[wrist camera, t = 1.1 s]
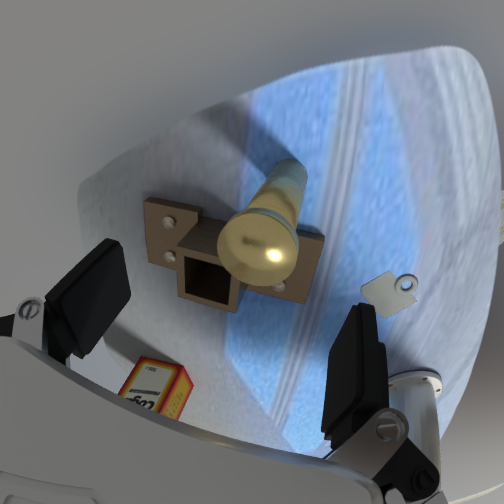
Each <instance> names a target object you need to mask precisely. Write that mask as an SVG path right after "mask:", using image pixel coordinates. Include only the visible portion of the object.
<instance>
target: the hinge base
mask: <svg viewBox="0 0 504 504" xmlns="http://www.w3.org/2000/svg"><path fill="white" fill-rule="evenodd" d="M202 210H203V208H201V207H197V206H192V205H187V204H182V203H177V202H172V201H167V200H162V199H157V198H152V197H149V198H147V199H146V200H145V201H144V217H145V231H146V242H147V253H148V262H150V263H153V264H157V265H160V266H163V267H167V268H170V269H174V270H177V287H178V297H181V298H184V299H188V300H191V301H194V302H197V303H201V304H204V305H207V306H211V307H214V308H218V309H221V310H225V311H228V312H232V313H235V314H236V312H237V309H238V307H239V305H240V302H241V300H242V297H243V295H244V293H245V290H246V288H247V286H248V290H249V291H253V292H257V293H261V294H265V295H269V296H273V297H277V298H281V299H285V300H289V301H293V302H297V303H301V304H305V301H306V298H307V295H308V292H309V289H310V286H311V283H312V280H313V277H314V274H315V271H316V268H317V264H318V261H319V258H320V255H321V251H322V248H323V245H324V238H325V236H323V235H319V234H315V233H311V232H307V231H303V230H299V229H296V233H297V236H298V239H299V251H298V256H297V261H296V265H295V268H294V270H293V271H292V273H291V274H290V275H289V276H288V277H287V278H286V279H285V280H283V281H282V282H280V283H277V284H275V285H270V286H255V285H250V284H247V283H245V282H242V281H240V280H238V279H237V278H235V277H234V276H233V275H231V274H230V273H229V272H228V271H227V270H226V268H225V267H224V266H223V264H222V263H221V261H220V258H219V255H218V251H217V242H218V238H219V235H220V233H221V231H222V230H223V228H224V227H225V225H226V224H227V223H228V222H225V221H220V220H216V219H211V218H207V217H202Z"/></svg>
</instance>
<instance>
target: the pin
mask: <svg viewBox="0 0 504 504" xmlns="http://www.w3.org/2000/svg"><path fill="white" fill-rule="evenodd" d="M307 179H308V175H307V171H306V169H305V167H304V166H303V165H302V164H301V163H300V162H298V161H296V160H292V159H285V160H282V161H280V162H278V163H277V164H276V165H275V167H274V168H273V169H272V171H271V172H270V174H269V175H268V177H267V178H266V180H265V181H264V183H263V184H262V186H261V187H260V189H259V190H258V192H257V193H256V195H255V196H254V198H253V199H252V201H251V202H250V204H249V205H248V207H247V208H246V209H245V210H242V211H240V212H238V213H236V214H235V215H234V216H233V217H232V218H231V219H230V220H229V221H228V223H227V224H226V225H225V227H224V228H223V230H222V231H221V233H220V235H219V238H218V242H217V251H218V255H219V258H220V261H221V263H222V264H223V266H224V267H225V268H226V270H227V271H228V272H229V273H230V274H231V275H233V276H234V277H235V278H237V279H238V280H240V281H242V282H245V283H247V284H250V285H255V286H270V285H275V284H277V283H280V282H282V281H283V280H285V279H286V278H287V277H288V276H289V275H290V274H291V273H292V271H293V270H294V268H295V265H296V261H297V256H298V251H299V239H298V236H297V233H296V227H297V223H298V219H299V214H300V210H301V206H302V201H303V197H304V193H305V188H306V184H307Z"/></svg>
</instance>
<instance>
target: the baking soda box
mask: <svg viewBox="0 0 504 504" xmlns="http://www.w3.org/2000/svg"><path fill="white" fill-rule="evenodd" d="M193 386H194V385H193V383H192V381H191V379H190V377H189V375H188V374H187V372H186V370H185V368H184V366H182V365H177V364H172V363H168V362H163V361H159V360H155V359H151V358H147V357H143V356H141V357H140V359H139V360H138V362H137V363H136V365H135V367H134V368H133V370H132V371H131V373H130V375H129V376H128V378H127V380H126V381H125V383H124V384H123V386H122V388H121V389H120V391H119V393H118V394H117V395H119V396H121V397H123V398H126V399H128V400H130V401H132V402H134V403H136V404H139V405H141V406H143V407H145V408H148V409H150V410H152V411H155V412H157V413H160V414H162V415H165V416H167V417H170V418H172V419H175V420H178V419H179V417H180V415H181V413H182V411H183V408H184V406H185V404H186V402H187V400H188V397H189V395H190V393H191V391H192V389H193Z"/></svg>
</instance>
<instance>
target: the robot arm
mask: <svg viewBox="0 0 504 504" xmlns="http://www.w3.org/2000/svg"><path fill="white" fill-rule="evenodd" d="M130 297H131V291H130V286H129V281H128V275H127V270H126V264H125V259H124V253H123V247H122V246H121V245H120V243H119V241H116V240H112V239H109V238H106V239H104V240H103V241H102V242H101V243H100V244H99V245H98V246H96V247H95V248H94V249H93V250H92V251H91V252H90V253H89V254H88V255H87V256H85V257H84V258H83V259H82V260H81V261H80V262H79V263H78V264H77V265H76V266H75V267H74V268H73V269H72V270H71V271H69V272H68V273H67V274H66V275H65V276H64V277H63V278H62V279H61V280H60V281H59V282H58V283H57V284H56V286H54V287H53V288H52V289H51V290H50V291H49V292H48V293H47V294H46V295H45V299H46V301H45V302H43V301H42V300H41V299H40V298H37V297H30V298H27V299H25V300H23V301H22V302H21V303H20V304H19V306H18V307H17V309H16V312H15V314H12V315H8V316H4V317H0V504H448V502H447V500H446V498H445V496H444V493H443V491H441V456H440V455H441V454H440V436H439V424H438V414H437V406H436V398H437V397H438V396H439V395H440V393H441V392H442V389H443V383H442V379H441V377H440V376H439V375H437V374H436V373H433V372H429V371H411V372H406V373H402V374H398V375H395V376H393V377H390V378H388V369H387V357H386V348H385V345H384V343H382V342H378V331H377V322H376V313H375V307H374V305H370V304H366V303H361V302H359V303H358V305H357V306H356V305H353V306H352V308H351V310H350V312H349V314H348V316H347V318H346V320H345V322H344V324H343V326H342V328H341V330H340V332H339V334H338V336H337V338H336V340H335V342H334V343H333V345H332V347H331V349H330V352H329V357H328V369H327V380H326V391H325V400H324V409H323V417H322V424H321V432H323V433H325V436H324V440H331V448H332V450H331V451H330V452H329V453H328V454H326V455H325V456H324V457H323V458H318V457H313V456H308V455H303V454H298V453H293V452H288V451H283V450H278V449H273V448H269V447H265V446H260V445H256V444H252V443H248V442H244V441H240V440H237V439H233V438H229V437H226V436H222V435H219V434H216V433H213V432H209V431H206V430H203V429H200V428H197V427H194V426H191V425H189V424H186V423H183V422H180V421H178V420H175V419H172V418H170V417H167V416H165V415H162V414H160V413H157V412H155V411H152V410H150V409H148V408H145V407H143V406H141V405H139V404H136V403H134V402H132V401H130V400H128V399H126V398H123V397H121V396H119V395H117V394H115V393H113V392H111V391H109V390H107V389H105V388H103V387H102V386H100V385H98V384H96V383H94V382H92V381H90V380H89V379H87V378H85V377H83V376H81V375H80V374H78V373H76V372H75V371H73V370H71V368H70V355H71V353H73V354H74V355H75V356H77V357H79V358H80V359H83V358H84V356H85V355H87V354H89V353H90V352H91V351H92V349H93V348H94V347H95V345H96V344H97V342H98V341H99V340H100V338H101V337H102V336H103V334H104V333H105V331H106V330H107V329H108V327H109V326H110V325H111V323H112V322H113V321H114V319H115V318H116V317H117V316H118V314H119V313H120V312H121V310H122V309H123V308H124V306H125V305H126V304H127V303H128V301H129V300H130Z"/></svg>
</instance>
